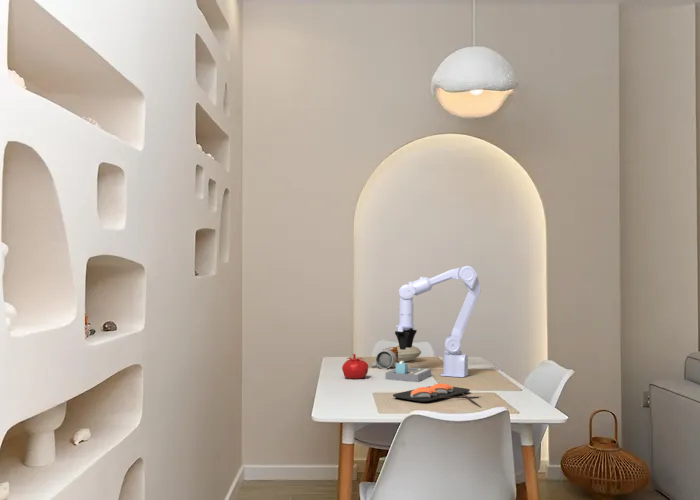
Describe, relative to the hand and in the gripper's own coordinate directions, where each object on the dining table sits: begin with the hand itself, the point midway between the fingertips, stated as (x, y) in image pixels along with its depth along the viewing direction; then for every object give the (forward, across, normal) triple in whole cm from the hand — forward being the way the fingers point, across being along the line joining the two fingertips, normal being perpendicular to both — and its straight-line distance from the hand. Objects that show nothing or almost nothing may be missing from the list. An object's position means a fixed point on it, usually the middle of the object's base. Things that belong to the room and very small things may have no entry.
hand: (405, 348), depth 294 cm
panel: (+10, +8, +4) cm, 14 cm away
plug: (+10, +13, +3) cm, 17 cm away
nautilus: (+10, -36, -15) cm, 40 cm away
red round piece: (+10, +19, -14) cm, 26 cm away
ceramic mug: (+10, -13, -14) cm, 22 cm away
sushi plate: (+11, +45, +31) cm, 56 cm away
